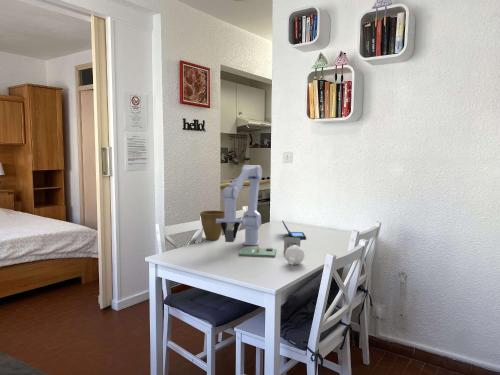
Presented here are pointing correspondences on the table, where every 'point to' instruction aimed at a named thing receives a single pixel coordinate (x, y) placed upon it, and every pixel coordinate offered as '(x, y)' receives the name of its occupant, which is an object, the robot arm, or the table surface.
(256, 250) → the pcb
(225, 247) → the table surface
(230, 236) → the plug
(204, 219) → the plant pot
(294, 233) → the handheld game console
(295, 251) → the perfume bottle
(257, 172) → the robot arm
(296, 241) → the electrical switch
